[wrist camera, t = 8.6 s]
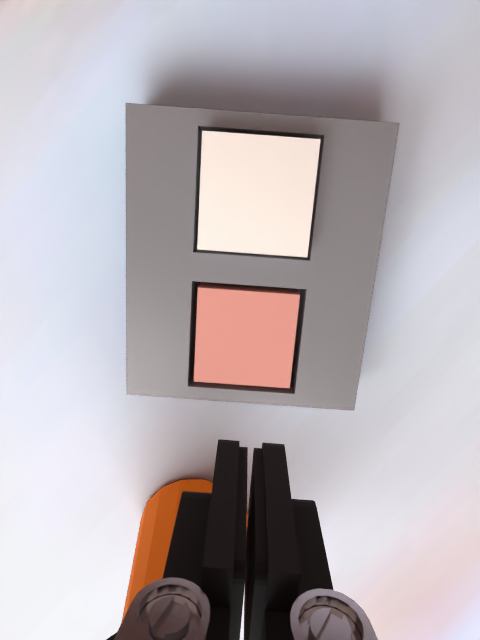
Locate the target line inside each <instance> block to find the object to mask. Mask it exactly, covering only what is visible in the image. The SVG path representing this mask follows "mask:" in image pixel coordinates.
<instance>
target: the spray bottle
mask: <svg viewBox="0 0 480 640" xmlns="http://www.w3.org/2000/svg"><path fill="white" fill-rule="evenodd" d="M212 485H213V482H210V481H207V480H204V479H189V480H179V481H177V482H174V483H172V484H169V485H167V486H164V487H162V488H161V489H160V490H159V491H158V492H157V493H156V494H155V495H154V496H153V497H152V498H151V499H150V500H149V501H148V502H147V504H146V507H145V509H144V512H143V515H142V518H141V522H140V528H139V533H138V538H137V544H136V549H135V554H134V560H133V565H132V570H131V575H130V581H129V586H128V591H127V597H126V602H125V607H124V613H123V618H122V621H123V619H124V617H125V615H126V613H127V610H128V608H129V606H130V604H131V602H132V601H133V599H134V598H135V596H136V595H137V593H138V592H139V591H140V590H142V589H143V588H144V587H145V586H146V585H148V584H150V583H152V582H154V581H156V580H159V579H162V578H163V573H164V569H165V565H166V560H167V556H168V551H169V547H170V542H171V538H172V534H173V529H174V525H175V520H176V516H177V511H178V507H179V503H180V498H181V494H182V492H183V491H192V492H205V493H212ZM247 520H248V514H247ZM247 520H246V531H247Z"/></svg>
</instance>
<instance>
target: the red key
mask: <svg viewBox="0 0 480 640" xmlns="http://www.w3.org/2000/svg"><path fill="white" fill-rule="evenodd" d="M299 300H300V294H299V292H298V290H297V289H295V288H281V287H267V286H253V285H239V284H225V283H211V282H200V284H199V286H198V295H197V318H196V341H195V364H194V382H208V383H222V384H236V385H250V386H264V387H278V388H290V381H291V372H292V363H293V354H294V345H295V336H296V327H297V318H298V309H299Z"/></svg>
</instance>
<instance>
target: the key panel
mask: <svg viewBox="0 0 480 640" xmlns="http://www.w3.org/2000/svg"><path fill="white" fill-rule="evenodd" d="M398 129H399V123H393V122H379V121H365V120H352V119H338V118H324V117H311V116H297V115H283V114H269V113H256V112H242V111H228V110H215V109H201V108H187V107H174V106H160V105H146V104H133V103H126V382H127V394H130V395H144V396H158V397H172V398H186V399H200V400H214V401H228V402H242V403H256V404H270V405H284V406H298V407H312V408H326V409H340V410H354V408H355V401H356V395H357V389H358V382H359V376H360V370H361V363H362V357H363V351H364V344H365V338H366V332H367V325H368V319H369V313H370V306H371V300H372V294H373V287H374V281H375V275H376V268H377V262H378V256H379V249H380V243H381V237H382V230H383V224H384V218H385V211H386V205H387V199H388V192H389V186H390V180H391V173H392V167H393V161H394V154H395V148H396V142H397V135H398ZM202 131H214V132H228V133H242V134H256V135H269V136H283V137H297V138H310V139H321V140H320V149H319V158H318V167H317V176H316V185H315V194H314V203H313V212H312V220H311V229H310V238H309V247H308V256H307V257H295V256H281V255H267V254H253V253H239V252H225V251H212V250H198V249H197V243H198V219H199V195H200V171H201V148H202ZM198 282H211V283H225V284H239V285H253V286H267V287H281V288H295V289H299V294H300V300H299V309H298V318H297V327H296V336H295V345H294V354H293V363H292V372H291V381H290V388H278V387H264V386H250V385H236V384H222V383H208V382H194V362H195V339H196V316H197V293H198Z"/></svg>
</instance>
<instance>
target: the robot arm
mask: <svg viewBox="0 0 480 640" xmlns="http://www.w3.org/2000/svg"><path fill="white" fill-rule="evenodd" d="M246 520H247V447H239V441H232V440H218V446H217V454H216V462H215V470H214V477H213V485H212V493H205V492H192V491H183V492H182V494H181V498H180V503H179V507H178V511H177V516H176V520H175V525H174V529H173V534H172V538H171V542H170V547H169V551H168V556H167V560H166V565H165V569H164V573H163V578H162V579H159V580H156V581H154V582H152V583H150V584H148V585H146V586H145V587H144V588H143V589H142V590H140V591H139V592H138V593H137V595H136V596H135V598H134V599H133V601H132V602H131V604H130V606H129V608H128V610H127V613H126V615H125V617H124V619H123V621H122V623H121V625H120V628H119V630H118V632H117V633H115V634H114V635H112V636H111V637H110V638H108V639H107V640H239V639H240V628H241V617H242V606H243V595H244V584H245V602H244V640H378V639H377V637H376V634H375V632H374V630H373V627H372V625H371V623H370V621H369V619H368V617H367V616H366V614H365V612H364V611H363V609H362V608H361V607H360V606H359V605H358V604H357V603H356V602H355V601H354V600H352V599H351V598H349V597H347V596H346V595H344V594H343V593H340V592H337V591H334V590H333V586H332V581H331V576H330V571H329V566H328V562H327V557H326V552H325V547H324V542H323V537H322V532H321V527H320V522H319V517H318V512H317V507H316V504H315V502H314V501H312V500H299V499H291V492H290V485H289V477H288V469H287V461H286V453H285V446H284V444H272V443H263V444H262V449H261V448H254V453H253V464H252V475H251V486H250V497H249V508H248V520H247V531H246Z"/></svg>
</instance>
